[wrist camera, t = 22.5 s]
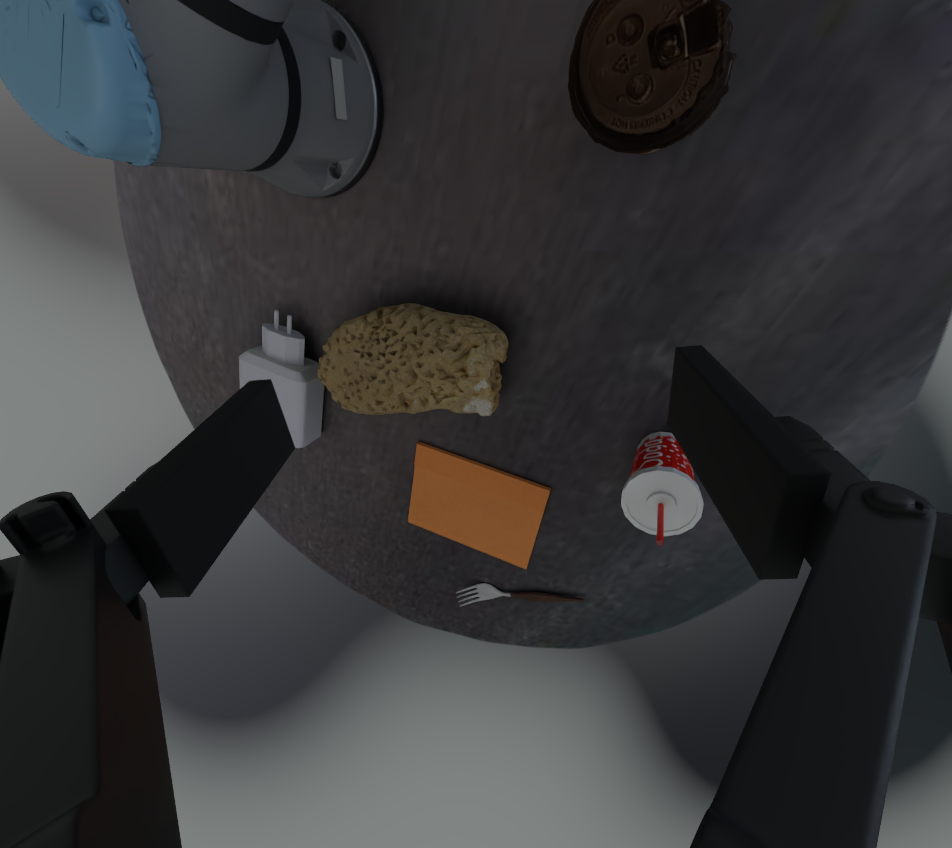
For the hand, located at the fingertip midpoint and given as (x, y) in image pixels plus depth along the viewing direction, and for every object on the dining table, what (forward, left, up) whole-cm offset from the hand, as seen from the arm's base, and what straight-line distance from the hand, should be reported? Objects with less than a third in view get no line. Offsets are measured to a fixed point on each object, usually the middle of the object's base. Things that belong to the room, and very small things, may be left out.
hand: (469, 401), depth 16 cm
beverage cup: (+11, -14, -30) cm, 35 cm away
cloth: (-6, -28, -30) cm, 41 cm away
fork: (+2, -38, -30) cm, 49 cm away
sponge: (-15, -12, -30) cm, 36 cm away
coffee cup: (+1, +13, -30) cm, 33 cm away
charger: (-31, -18, -30) cm, 47 cm away
